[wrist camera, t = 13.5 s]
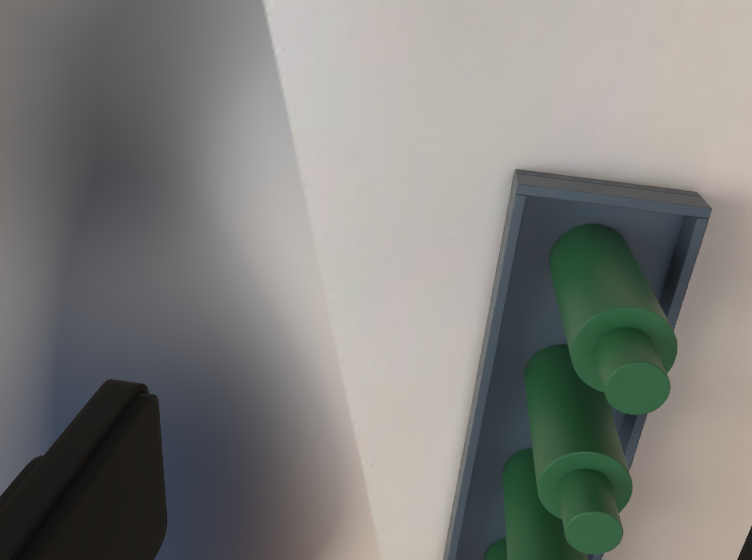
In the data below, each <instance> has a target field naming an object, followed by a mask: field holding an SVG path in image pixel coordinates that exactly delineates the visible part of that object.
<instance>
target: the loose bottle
mask: <svg viewBox="0 0 752 560" xmlns="http://www.w3.org/2000/svg"><path fill="white" fill-rule="evenodd" d="M549 269H550V273H551V277H552V281H553V286H554V290H555V294H556V298H557V302H558V306H559V311H560V315H561V319H562V323H563V327H564V332H565V336H566V340H567V344H568V348H569V352H570V357H571V361H572V364H573V367H574V369H575V371H576V373H577V374H578V376H579V377H580V378H581V379H582V380H583V381H584V382H585V383H586V384H587V385H589V386H591V387H592V388H594V389H596V390H598V391H601V392H604V393H605V396H606V399H607V401H608V402H609V404H610V405H611V406H612V407H613V408H615V409H616V410H618V411H620V412H622V413H625V414H630V415H641V414H646V413H649V412H652V411H654V410H656V409H657V408H659V407H660V406H661V405H662V404H663V403H664V402H665V401H666V399H667V397H668V395H669V392H670V380H669V378H668V375H667V373H668V372H669V371H670V369H671V368H672V366H673V364H674V361H675V358H676V354H677V340H676V336H675V334H674V331H673V329H672V327H671V325H670V324H669V322H668V320H667V318H666V316H665V314H664V312H663V310H662V308H661V306H660V305H659V303H658V301H657V299H656V297H655V295H654V293H653V291H652V289H651V287H650V286H649V284H648V282H647V280H646V278H645V276H644V274H643V272H642V270H641V268H640V267H639V265H638V263H637V261H636V259H635V257H634V255H633V253H632V251H631V249H630V248H629V246H628V244H627V242H626V240H625V239H624V238H623V236H622V235H621V234H619V233H618V232H617V231H616V230H614V229H612V228H610V227H608V226H605V225H600V224H585V225H580V226H577V227H574V228H572V229H570V230H569V231H567V232H566V233H564V234H563V235H562V236H561V237H560V238H559V239H558V240H557V241H556V243H555V244H554V246H553V248H552V250H551V253H550V257H549Z"/></svg>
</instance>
